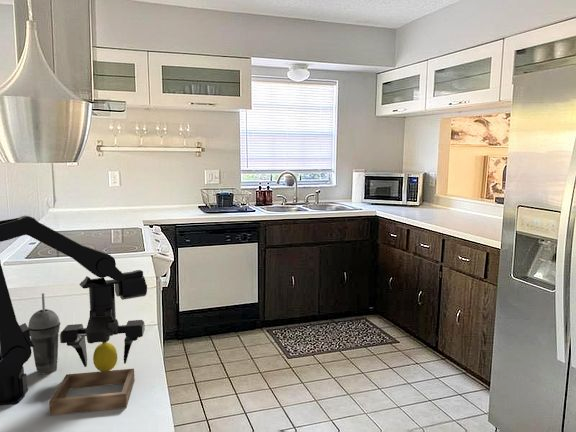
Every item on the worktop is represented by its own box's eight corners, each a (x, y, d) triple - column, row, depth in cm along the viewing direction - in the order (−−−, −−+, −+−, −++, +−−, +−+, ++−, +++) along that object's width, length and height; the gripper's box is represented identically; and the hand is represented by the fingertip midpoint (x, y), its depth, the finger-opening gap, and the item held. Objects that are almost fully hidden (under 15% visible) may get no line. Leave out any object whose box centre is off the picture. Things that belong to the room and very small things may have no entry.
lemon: (94, 370, 116) (92, 339, 116) (117, 367, 118) (116, 336, 118) (93, 379, 111) (91, 347, 111) (118, 375, 113) (116, 344, 112)
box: (49, 415, 95) (48, 401, 95) (67, 386, 108) (66, 374, 107) (126, 407, 98) (125, 393, 97) (134, 380, 110) (134, 368, 110)
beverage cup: (60, 362, 122) (56, 287, 120) (65, 371, 116) (60, 293, 114) (28, 369, 118) (23, 291, 116) (32, 379, 112) (27, 298, 110)
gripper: (51, 315, 103) (55, 382, 105) (138, 309, 107) (141, 375, 108) (65, 302, 114) (68, 363, 116) (143, 297, 118) (146, 356, 119)
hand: (105, 364), depth 115 cm, fingers open, 9 cm apart
